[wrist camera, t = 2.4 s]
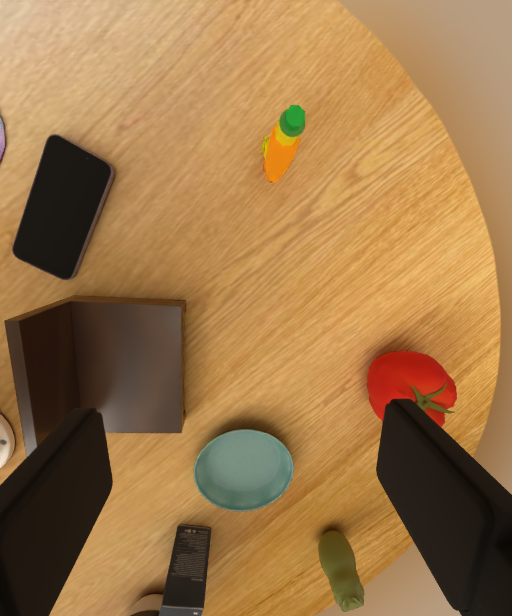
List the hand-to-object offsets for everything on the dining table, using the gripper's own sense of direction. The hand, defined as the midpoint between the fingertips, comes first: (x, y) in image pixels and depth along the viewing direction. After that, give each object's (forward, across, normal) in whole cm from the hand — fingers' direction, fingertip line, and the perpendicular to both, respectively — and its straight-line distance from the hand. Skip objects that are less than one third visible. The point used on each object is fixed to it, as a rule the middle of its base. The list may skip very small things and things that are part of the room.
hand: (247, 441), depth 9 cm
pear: (+28, -15, +44) cm, 55 cm away
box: (+28, +9, +44) cm, 53 cm away
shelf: (+28, +15, +10) cm, 33 cm away
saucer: (+28, 0, +27) cm, 39 cm away
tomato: (+29, -22, +14) cm, 39 cm away
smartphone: (+28, +21, -9) cm, 36 cm away
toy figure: (+29, -4, -14) cm, 32 cm away
